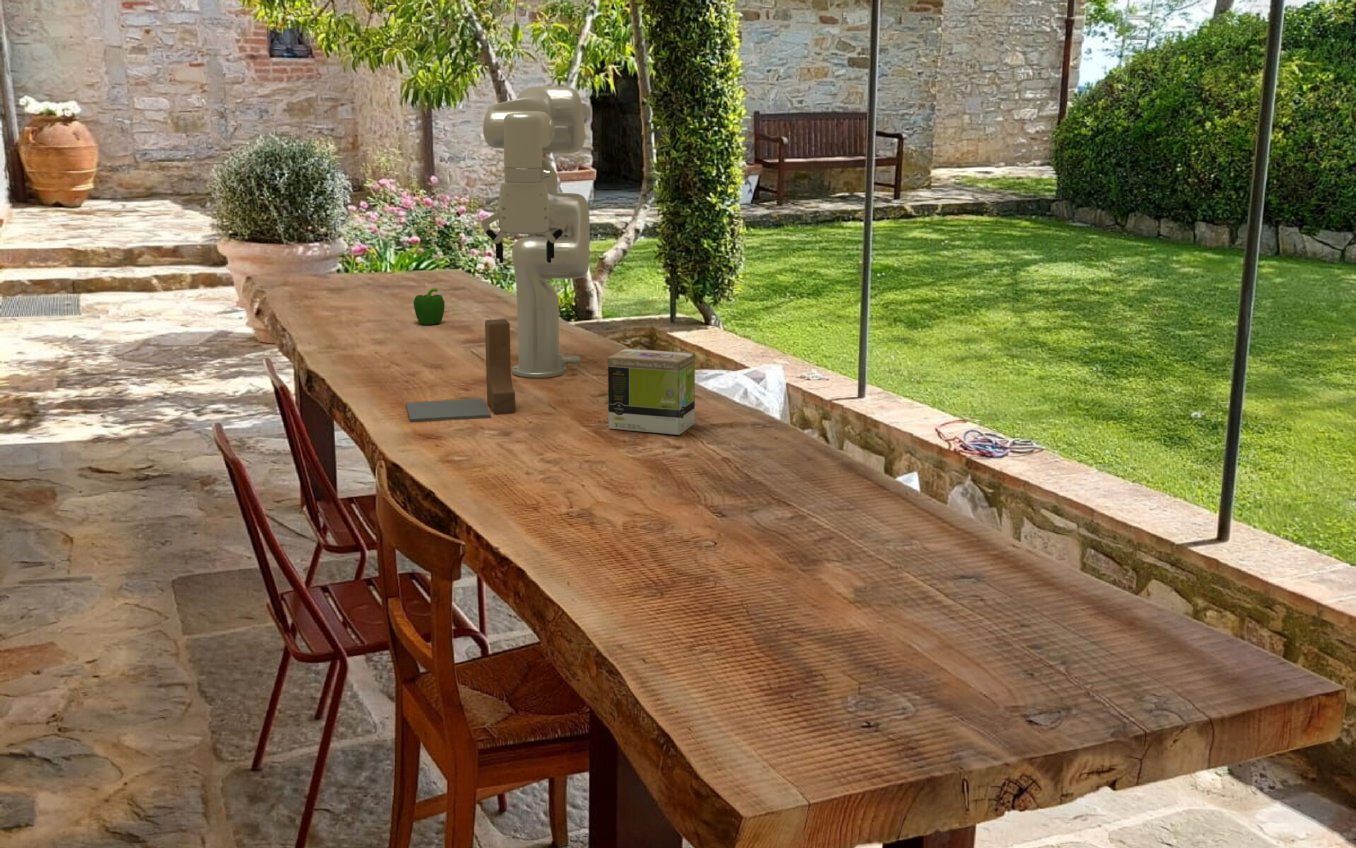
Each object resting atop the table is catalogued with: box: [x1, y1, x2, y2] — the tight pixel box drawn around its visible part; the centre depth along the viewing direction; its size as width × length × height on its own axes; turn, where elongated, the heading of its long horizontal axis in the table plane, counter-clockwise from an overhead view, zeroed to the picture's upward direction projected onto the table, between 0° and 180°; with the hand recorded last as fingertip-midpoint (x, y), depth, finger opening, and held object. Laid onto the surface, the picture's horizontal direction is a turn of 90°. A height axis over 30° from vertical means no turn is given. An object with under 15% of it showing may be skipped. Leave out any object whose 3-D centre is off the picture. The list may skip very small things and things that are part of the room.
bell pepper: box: [413, 287, 446, 326], centre depth 358 cm, size 8×8×10 cm
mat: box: [405, 398, 492, 423], centre depth 265 cm, size 16×14×1 cm
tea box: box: [607, 348, 696, 436], centre depth 253 cm, size 15×10×15 cm, turn 71°
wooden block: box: [484, 318, 516, 415], centre depth 265 cm, size 9×4×18 cm, turn 17°
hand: (525, 262), depth 262 cm, fingers open, 9 cm apart
